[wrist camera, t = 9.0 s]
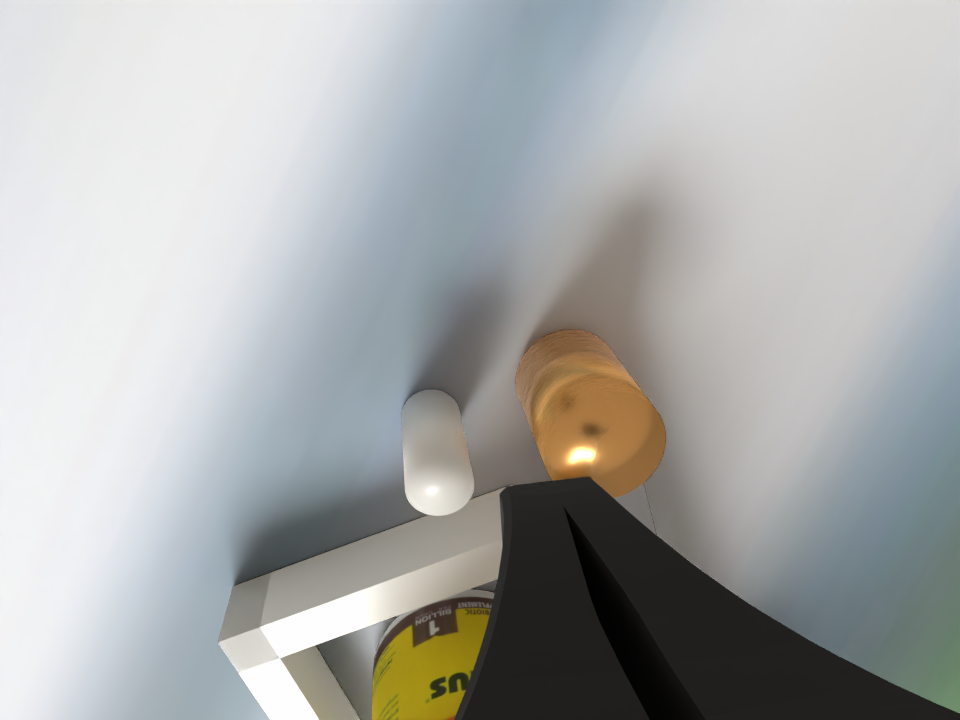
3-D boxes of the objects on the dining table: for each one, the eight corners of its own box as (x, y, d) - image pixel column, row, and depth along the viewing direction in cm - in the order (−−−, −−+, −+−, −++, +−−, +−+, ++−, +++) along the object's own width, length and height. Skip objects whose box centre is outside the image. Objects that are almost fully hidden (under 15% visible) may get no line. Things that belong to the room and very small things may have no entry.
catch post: (467, 429, 20) (483, 501, 17) (413, 449, 20) (419, 524, 17) (447, 381, 20) (460, 446, 16) (392, 401, 20) (394, 471, 17)
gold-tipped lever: (724, 738, 26) (783, 856, 22) (629, 769, 26) (671, 893, 22) (618, 310, 19) (678, 377, 15) (488, 355, 19) (514, 433, 15)
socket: (604, 717, 25) (623, 775, 23) (370, 801, 26) (369, 864, 24) (512, 483, 21) (526, 530, 19) (233, 586, 21) (217, 642, 19)
